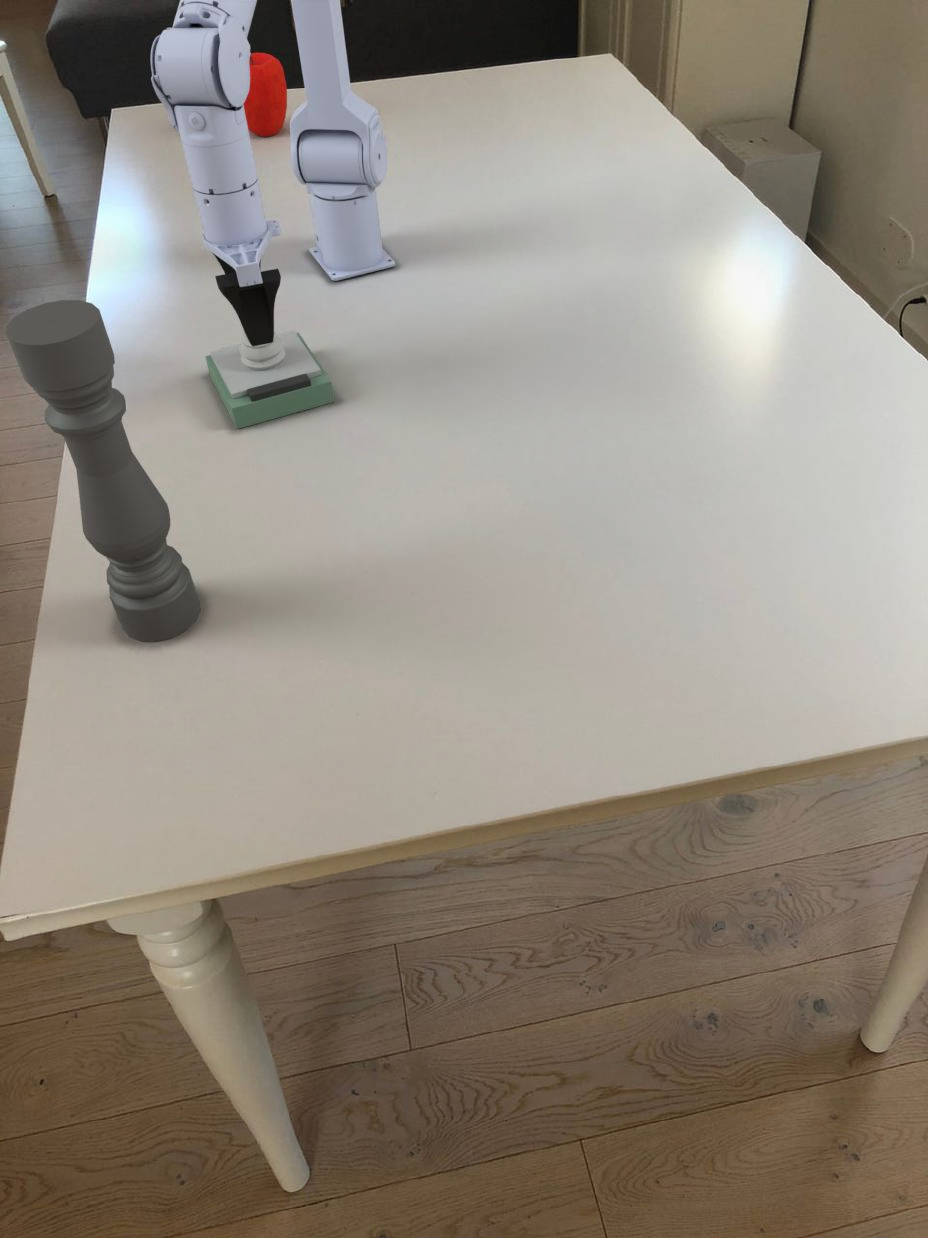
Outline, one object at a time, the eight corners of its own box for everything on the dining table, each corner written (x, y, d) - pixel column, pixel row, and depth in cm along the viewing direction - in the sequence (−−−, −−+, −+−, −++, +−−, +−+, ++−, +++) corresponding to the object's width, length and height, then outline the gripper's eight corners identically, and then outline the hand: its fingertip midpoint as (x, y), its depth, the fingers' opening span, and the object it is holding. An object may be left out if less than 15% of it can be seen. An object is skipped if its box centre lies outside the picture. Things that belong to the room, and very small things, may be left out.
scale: (210, 376, 105) (203, 349, 103) (302, 352, 107) (297, 325, 105) (237, 429, 98) (230, 401, 95) (335, 402, 100) (330, 374, 98)
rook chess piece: (285, 369, 99) (269, 293, 94) (239, 373, 99) (221, 297, 94) (287, 346, 102) (272, 271, 97) (243, 350, 102) (226, 275, 97)
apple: (247, 122, 160) (232, 46, 152) (300, 121, 159) (288, 45, 151) (230, 142, 154) (213, 64, 146) (285, 142, 153) (272, 63, 145)
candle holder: (127, 591, 82) (14, 302, 64) (204, 583, 82) (112, 293, 64) (115, 645, 77) (-11, 351, 60) (196, 637, 77) (94, 342, 60)
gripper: (283, 204, 84) (310, 351, 94) (258, 146, 94) (284, 284, 104) (199, 219, 83) (234, 366, 92) (182, 158, 93) (216, 297, 102)
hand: (256, 324), depth 98 cm, fingers open, 7 cm apart
